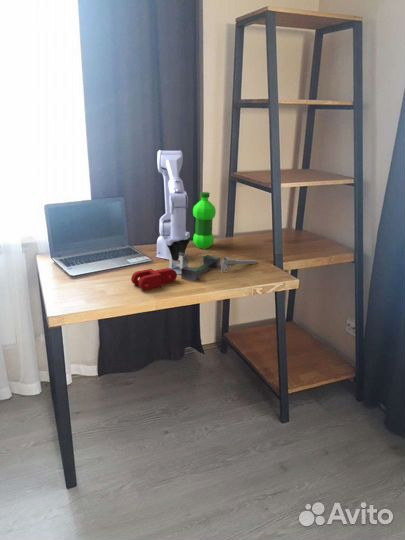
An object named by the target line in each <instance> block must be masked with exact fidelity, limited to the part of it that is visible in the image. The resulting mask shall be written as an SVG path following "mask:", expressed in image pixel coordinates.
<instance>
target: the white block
mask: <svg viewBox="0 0 405 540" xmlns="http://www.w3.org/2000/svg"><path fill="white" fill-rule="evenodd" d="M178 261H179V264H180V269H182V268H183V267H185V266H187V267H188V266H189V265H188V264H189V254H188V252H185V253H183V252H179V255H178ZM178 261H174V260H172V257H171V253H169V261H168V262H169V263H168V264H169V265H168V267H174V266H176V265H177V264H178Z"/></svg>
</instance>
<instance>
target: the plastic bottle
mask: <svg viewBox="0 0 405 540" xmlns="http://www.w3.org/2000/svg"><path fill="white" fill-rule="evenodd" d="M210 193H211V192H208V191H200V193H199V194H200V195H199V197H200V198H201V199H200V200H199V201H198V202H197V203H196V204H195V205H193V208H192V214H193V215H192V216H193V217H194V218H195V226H194V227H195V228H194V229H195V230H194V231H195V233H193V236H192V238H193V239H192V240H193V241H192V242H193V245H195V247H197V248H198V249H201V248H202V249H201V250H203V249H204V250H205V249H207V250H208V249H209V248H210V247H211V246H212V245H213V244H214V243H215V242H214V241H215V237H214V234H213V219H214V218H215V216H216V210H217V209H216V207H215V205H214V204H213V203H212V202H211V201H210V200H209V198H210Z"/></svg>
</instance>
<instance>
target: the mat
mask: <svg viewBox="0 0 405 540" xmlns="http://www.w3.org/2000/svg"><path fill="white" fill-rule="evenodd" d="M188 267H192V268H194V267H193V266H190V265H188ZM167 268H171V269H173V270H174V271H176V273H177V275H178V276H181V275H182V269H180V263H177V265H176V266H174V267H169V266H168V267H167Z"/></svg>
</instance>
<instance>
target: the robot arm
mask: <svg viewBox="0 0 405 540" xmlns="http://www.w3.org/2000/svg"><path fill="white" fill-rule="evenodd" d="M156 155H157V156H156V158H157V159H156V161H157V170H158V173H160V174H162V177H163V188H164V189H163V191H164V207H165V208H164V209H165V213H164V214H163V215H162V216H161V217H160V218H159V221H158V222H159V223H158V224H159V225H158V227H159V229H158V230H159V236H158V237H157V240H156V255H155V258H159V259H165V260H169V253H171V257H172V260H174V261H177V262H178V261H179V260H178V255H179V252H183V253H186V249H187V247H188V244H189V243H190V239H189V238H190V237H191V235H190V232H189V231H187V230H186V226H187V222H186V221H187V209H188V205H189V197H188V194H187V191H186V190H185V187H184V182H183V179H181V178H180V172H181V170H182V165H183V161H184V160H183V158H184V155H183V152H182V150H161V149H159V150H158V151H157V153H156Z"/></svg>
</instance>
